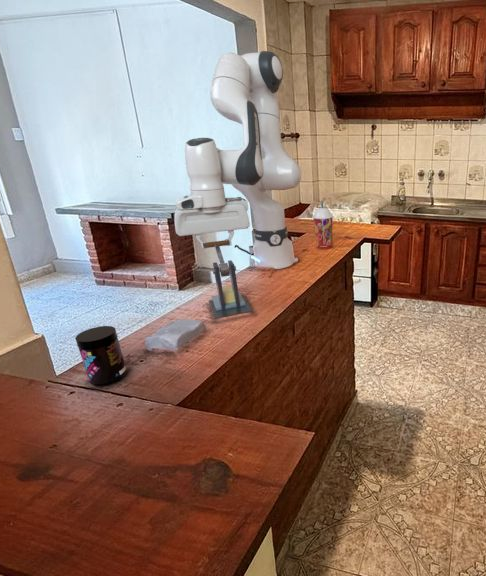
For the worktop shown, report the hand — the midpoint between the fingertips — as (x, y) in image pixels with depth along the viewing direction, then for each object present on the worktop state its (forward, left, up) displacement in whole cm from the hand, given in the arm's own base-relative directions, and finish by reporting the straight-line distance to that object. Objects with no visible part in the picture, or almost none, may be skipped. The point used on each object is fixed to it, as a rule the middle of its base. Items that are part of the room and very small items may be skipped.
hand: (216, 246), depth 117 cm
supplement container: (+35, -28, -16) cm, 48 cm away
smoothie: (-39, +48, -16) cm, 64 cm away
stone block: (+24, -15, -16) cm, 33 cm away
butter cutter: (+11, 0, -16) cm, 19 cm away
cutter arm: (+5, 0, -3) cm, 6 cm away
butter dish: (+8, 0, -15) cm, 17 cm away
